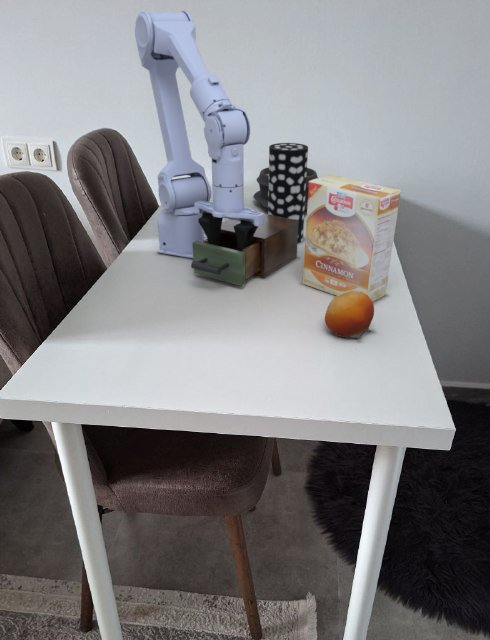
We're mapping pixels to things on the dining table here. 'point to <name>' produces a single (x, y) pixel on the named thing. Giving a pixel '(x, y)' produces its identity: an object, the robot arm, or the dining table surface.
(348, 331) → the fruit
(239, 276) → the drawer
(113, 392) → the dining table surface
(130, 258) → the dining table surface
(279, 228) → the cabinet
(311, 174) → the casserole
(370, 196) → the coffeecake box
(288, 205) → the spotted tube
